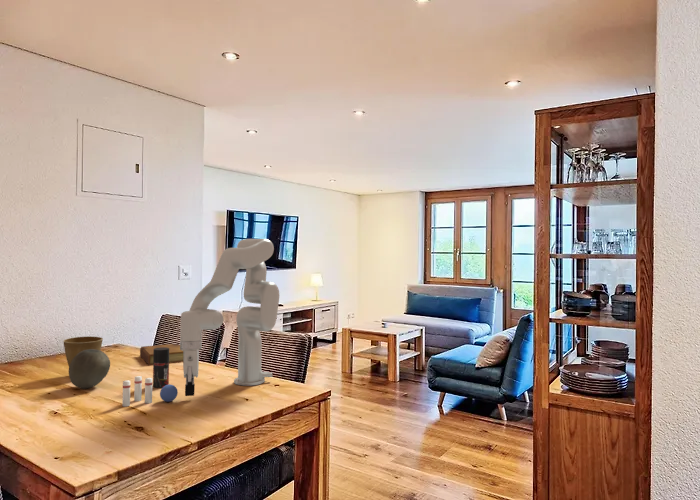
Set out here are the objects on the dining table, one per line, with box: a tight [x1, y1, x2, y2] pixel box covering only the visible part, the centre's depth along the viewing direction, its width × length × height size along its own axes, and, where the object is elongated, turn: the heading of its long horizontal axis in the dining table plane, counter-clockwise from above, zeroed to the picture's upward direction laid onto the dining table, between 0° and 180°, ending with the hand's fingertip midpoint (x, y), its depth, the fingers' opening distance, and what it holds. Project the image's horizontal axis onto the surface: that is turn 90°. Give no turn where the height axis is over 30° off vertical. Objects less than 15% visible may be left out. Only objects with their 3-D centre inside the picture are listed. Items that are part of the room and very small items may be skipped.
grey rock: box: [68, 349, 111, 390], centre depth 192 cm, size 14×14×15 cm
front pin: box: [144, 377, 153, 404], centre depth 174 cm, size 2×2×8 cm
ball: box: [159, 383, 179, 403], centre depth 175 cm, size 6×6×6 cm
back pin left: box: [121, 379, 131, 408], centre depth 170 cm, size 2×2×8 cm
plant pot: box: [63, 336, 104, 367], centre depth 209 cm, size 15×15×16 cm
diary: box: [139, 343, 183, 366], centre depth 246 cm, size 23×19×6 cm
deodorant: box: [152, 347, 170, 389], centre depth 196 cm, size 6×6×15 cm
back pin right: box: [133, 375, 143, 402], centre depth 176 cm, size 2×2×8 cm
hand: (189, 395), depth 177 cm, fingers closed
